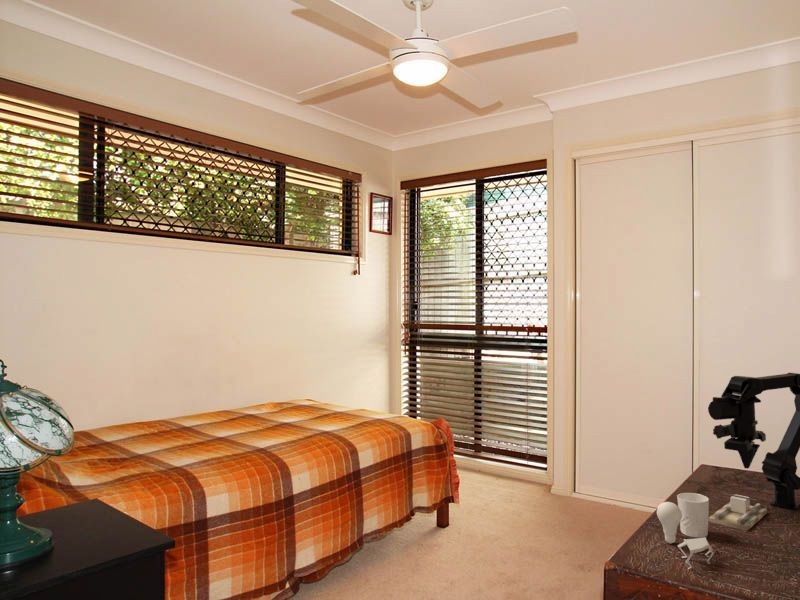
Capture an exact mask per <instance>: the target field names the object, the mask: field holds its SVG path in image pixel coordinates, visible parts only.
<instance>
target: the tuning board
mask: <svg viewBox="0 0 800 600" xmlns="http://www.w3.org/2000/svg"><path fill="white" fill-rule="evenodd" d="M767 514H768V509H767V508H766V507H765V508H764V507H761V503H755V504H754V505H750V510H748V511H747V512H746V513H745V514H742V513H738V512H733V511H731V504H730V501H729V502H728V503H726V504H725V505H724V506H722V507H721V508H719V509H718V510H717V511H715V512H714V513H713V514H711V515H709V519H708V523H712V524H718V525H721V526H725V527H729V528H734V529H738V530H742V531H746V532H747V531H749V530H750V529H751V528H752V527H753V526H754V525H755V524H757V523H758V522H759V521H761V519H762V518H763V517H765V516H766V515H767Z"/></svg>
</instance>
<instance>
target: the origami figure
mask: <svg viewBox="0 0 800 600" xmlns="http://www.w3.org/2000/svg"><path fill="white" fill-rule="evenodd" d="M685 546H687V547H688V549H689V555H688V556H687V554H686V552H685V551H684V550H683V549H682V548H683V547H685ZM677 547H678V549H679V550H680V551H681V552H682V554H683V555H684V556H681V558H682V559H686V558H687V559H686V560H685V564H687V565H688V566H689V567H687V568H688V569H687V570H690V569H692V568H693V566H692V565H691V564H690V562H689V561H690V559H691V558H692V556H693V555H694V554H696V553H700V552H703V551H705V550H707V549H708V551H707V552H706V553H705V556H706V558H708V559H707V560H706V561H707V564H708V565H709V564H710V565H711V563H710V562H709V561H710V559H711V558H712V557H713V556H714V554H715V553H714V548H712V545H710V543H709V541H708V540H707V536H706V537H702V538H697V537H695V538H689V539H688V538H687V539H685V538H683V542H680V543H679V544H677ZM710 553H711V554H710ZM708 554H710V555H708Z"/></svg>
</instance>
